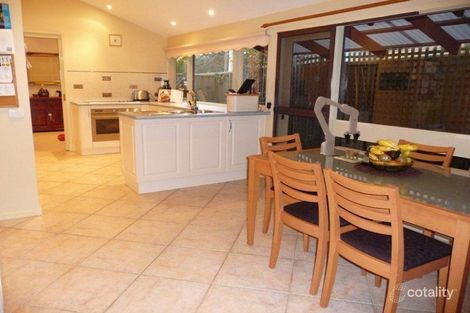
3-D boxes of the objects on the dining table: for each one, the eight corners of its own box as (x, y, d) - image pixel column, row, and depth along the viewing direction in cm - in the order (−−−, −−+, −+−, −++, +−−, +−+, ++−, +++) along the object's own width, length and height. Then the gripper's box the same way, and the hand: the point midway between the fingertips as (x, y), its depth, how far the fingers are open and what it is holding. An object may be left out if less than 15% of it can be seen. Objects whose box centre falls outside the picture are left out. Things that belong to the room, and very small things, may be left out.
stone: (358, 166, 235) (359, 145, 239) (364, 170, 241) (365, 150, 245) (379, 165, 225) (379, 143, 229) (384, 169, 232) (385, 147, 236)
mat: (333, 157, 253) (333, 157, 253) (348, 156, 261) (349, 155, 261) (352, 163, 238) (352, 162, 238) (368, 161, 246) (368, 160, 246)
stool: (357, 159, 247) (358, 151, 246) (352, 160, 244) (353, 151, 243) (349, 157, 254) (350, 149, 252) (344, 157, 251) (345, 149, 250)
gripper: (350, 126, 250) (348, 145, 253) (364, 125, 257) (362, 143, 260) (342, 125, 256) (341, 143, 259) (356, 124, 263) (354, 142, 266)
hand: (351, 143), depth 260 cm, fingers open, 7 cm apart
